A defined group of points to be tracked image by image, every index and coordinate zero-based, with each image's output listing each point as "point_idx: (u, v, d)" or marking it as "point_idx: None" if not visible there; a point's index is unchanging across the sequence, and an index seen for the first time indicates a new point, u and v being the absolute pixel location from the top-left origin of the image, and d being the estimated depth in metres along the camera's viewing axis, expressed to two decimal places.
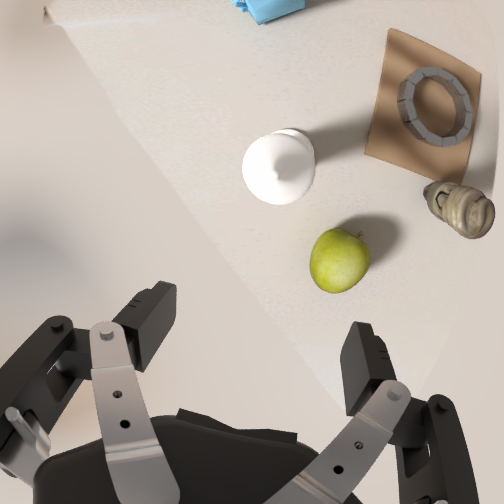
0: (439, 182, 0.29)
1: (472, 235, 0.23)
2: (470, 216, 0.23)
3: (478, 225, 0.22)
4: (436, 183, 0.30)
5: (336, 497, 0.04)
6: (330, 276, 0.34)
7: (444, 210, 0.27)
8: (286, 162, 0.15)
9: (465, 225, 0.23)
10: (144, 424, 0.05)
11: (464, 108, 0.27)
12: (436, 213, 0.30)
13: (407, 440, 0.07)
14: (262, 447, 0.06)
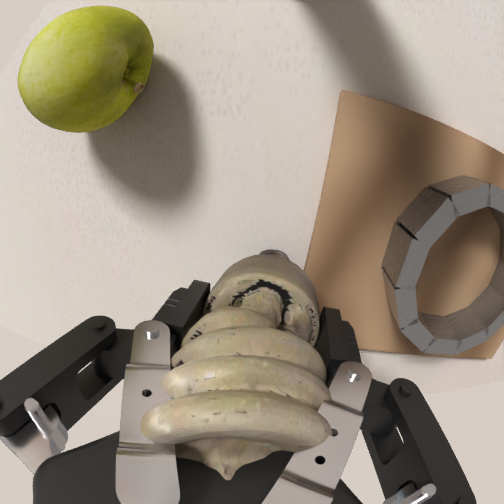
0: (311, 288, 0.12)
1: None
2: (216, 461, 0.05)
3: None
4: (306, 279, 0.13)
5: (326, 487, 0.04)
6: (34, 40, 0.08)
7: (227, 319, 0.09)
8: None
9: None
10: None
11: (463, 335, 0.14)
12: (218, 289, 0.12)
13: (375, 427, 0.08)
14: None
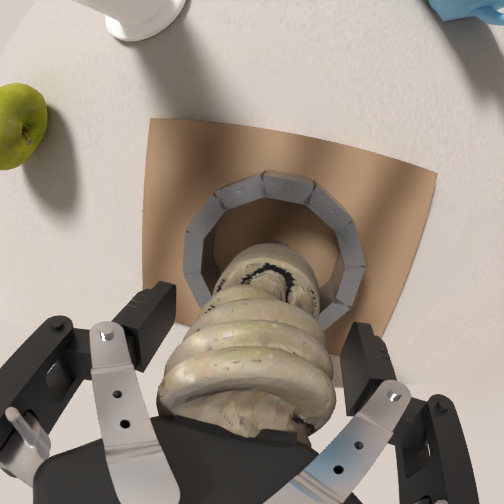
0: (311, 272, 0.14)
1: None
2: (233, 413, 0.06)
3: None
4: (307, 264, 0.14)
5: (336, 497, 0.04)
6: None
7: (238, 294, 0.10)
8: None
9: (190, 397, 0.06)
10: (144, 424, 0.05)
11: None
12: (228, 272, 0.13)
13: (407, 440, 0.07)
14: (262, 447, 0.06)
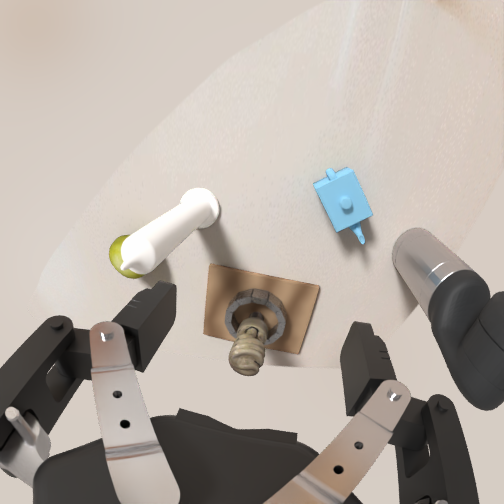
0: (264, 327, 0.48)
1: (231, 362, 0.41)
2: (243, 359, 0.41)
3: (239, 365, 0.40)
4: (263, 324, 0.48)
5: (336, 497, 0.04)
6: (117, 255, 0.46)
7: (244, 336, 0.44)
8: (136, 265, 0.28)
9: (236, 356, 0.40)
10: (144, 424, 0.05)
11: None
12: (241, 327, 0.47)
13: (407, 440, 0.07)
14: (262, 447, 0.06)
